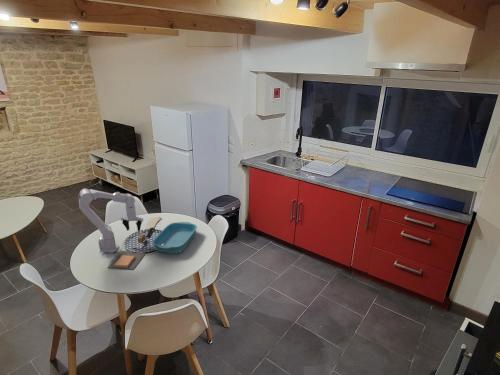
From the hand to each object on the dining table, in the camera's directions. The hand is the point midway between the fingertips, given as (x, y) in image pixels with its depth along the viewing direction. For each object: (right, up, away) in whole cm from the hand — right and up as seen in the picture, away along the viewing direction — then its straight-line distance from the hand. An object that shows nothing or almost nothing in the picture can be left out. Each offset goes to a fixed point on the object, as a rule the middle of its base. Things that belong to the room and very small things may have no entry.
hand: (133, 230), depth 212 cm
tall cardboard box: (+4, -10, +1) cm, 11 cm away
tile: (+2, -16, -20) cm, 26 cm away
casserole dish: (+28, -9, +4) cm, 30 cm away
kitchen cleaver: (+4, -2, +23) cm, 24 cm away
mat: (+2, -16, -16) cm, 23 cm away
